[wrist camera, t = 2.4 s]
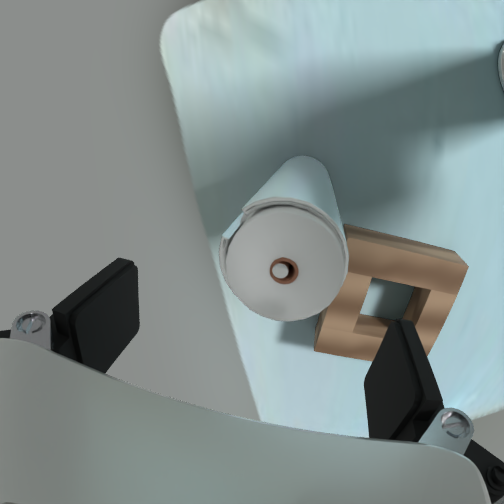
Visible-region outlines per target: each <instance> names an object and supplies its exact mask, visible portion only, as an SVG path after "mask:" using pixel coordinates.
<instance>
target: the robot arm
mask: <svg viewBox="0 0 504 504" xmlns="http://www.w3.org/2000/svg"><path fill="white" fill-rule="evenodd" d="M498 70H499V77H500V81H501V84H502V87H503V90H504V44H503V45H502V47H501V50H500V52H499V57H498ZM52 311H53V315H51V316H50V317H49V316H48V315H47V314H46V313H44V312H41V311H27V312H25V313H22V314H20V315H19V316H17V317H16V318H15V320H14V321H13V323H12V327H11V330H5V331H0V504H504V463H503V462H502V461H501V460H500V459H498V458H497V457H495V456H494V455H493V454H491V453H490V452H488V451H487V450H486V449H484V448H483V447H482V446H480V445H479V444H477V443H476V442H475V441H473V440H472V439H471V438H472V436H473V433H474V426H473V423H472V421H471V419H470V418H469V417H468V416H467V415H466V414H465V413H464V412H462V411H460V410H458V409H455V408H444V405H443V402H442V401H443V399H442V396H441V394H440V391H439V388H438V385H437V382H436V379H435V377H434V374H433V371H432V368H431V366H430V363H429V361H428V358H427V355H426V353H425V350H424V348H423V345H422V343H421V340H420V338H419V335H418V333H417V331H416V328H415V326H414V323H413V322H412V321H410V320H404V319H396V320H395V322H391V323H390V324H389V326H388V329H387V331H386V333H385V336H384V338H383V340H382V343H381V345H380V347H379V349H378V351H377V354H376V356H375V358H374V360H373V362H372V364H371V366H370V368H369V370H368V372H367V374H366V377H365V380H364V390H365V399H366V408H367V418H368V429H369V438H364V437H354V436H346V435H338V434H330V433H323V432H316V431H309V430H303V429H297V428H292V427H286V426H281V425H276V424H271V423H266V422H261V421H256V420H252V419H248V418H243V417H239V416H235V415H231V414H226V413H223V412H219V411H215V410H212V409H208V408H204V407H201V406H197V405H194V404H190V403H187V402H183V401H181V400H177V399H174V398H171V397H168V396H165V395H161V394H159V393H156V392H153V391H150V390H147V389H144V388H141V387H138V386H136V385H133V384H130V383H128V382H125V381H122V380H120V379H117V378H115V377H112V376H110V375H107V374H105V373H106V372H107V370H108V369H109V368H110V366H111V365H112V364H113V363H114V361H115V360H116V359H117V358H118V356H119V355H120V354H121V352H122V351H123V350H124V349H125V348H126V346H127V345H128V344H129V343H130V341H131V340H132V339H133V338H134V336H135V335H136V334H137V332H138V330H139V324H140V322H139V300H138V268H137V266H135V265H134V262H133V261H130V260H126V259H122V258H117V259H116V260H115V261H114V262H112V263H111V264H109V265H108V266H107V267H105V268H104V269H103V270H101V271H100V272H99V273H97V274H96V275H95V276H94V277H92V278H91V279H89V280H88V281H87V282H85V283H84V284H83V285H82V286H80V287H79V288H78V289H77V290H75V291H74V292H73V293H71V294H70V295H69V296H68V297H66V298H65V299H64V300H63V301H61V302H60V303H59V304H58V305H56V306H55V307H54V308H53V309H52Z"/></svg>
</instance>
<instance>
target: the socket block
mask: <svg viewBox="0 0 504 504" xmlns="http://www.w3.org/2000/svg"><path fill="white" fill-rule="evenodd" d="M343 230H344V234H345V238H346V243H347V248H348V253H349V263H348V273H347V275H346V278H345V280H344V283H343V285H342V287H341V288H340V290H339V292H338V294H337V296H336V297H335V298H334V300H333V301H332V302H331V304H330V305H329V306H327V307H326V308H325V309H323V310H322V311H321V312H320V315H319V318H318V322H317V325H316V328H315V341H314V351H316V352H322V353H327V354H332V355H338V356H343V357H349V358H355V359H361V360H367V361H373V360H374V358H375V356H376V354H377V351H378V349H379V347H380V345H381V343H382V340H383V338H384V336H385V333H386V331H387V329H388V326H389V324H390V323H391V322H395V320H389V319H384V318H379V317H373V316H368V315H363V314H359V313H360V311H361V308H362V305H363V302H364V299H365V297H366V294H367V291H368V288H369V285H370V282H371V279H372V277H374V278H379V279H383V280H388V281H393V282H397V283H402V284H407V285H411V286H415V288H414V291H413V294H412V296H411V299H410V301H409V304H408V306H407V308H406V311H405V313H404V315H403V318H402V319H404V320H410V321H412V322H413V323H414V326H415V328H416V331H417V333H418V335H419V338H420V340H421V343H422V345H423V348H424V350H425V353H426V355H427V356H428V354H429V352H430V350H431V348H432V347H433V345H434V343H435V341H436V339H437V337H438V335H439V333H440V331H441V329H442V327H443V325H444V323H445V321H446V319H447V316H448V314H449V312H450V310H451V308H452V306H453V303H454V301H455V299H456V297H457V294H458V292H459V289H460V287H461V285H462V282H463V280H464V277H465V275H466V272H467V270H468V267H469V266H468V265H467V264H466V263H465V262H464V261H463V260H462V259H461V258H460V256H459V255H458V254H457V253H456V252H455V251H452V250H448V249H445V248H441V247H437V246H433V245H429V244H425V243H422V242H418V241H414V240H410V239H406V238H402V237H398V236H394V235H390V234H385V233H381V232H377V231H373V230H369V229H364V228H360V227H356V226H351V225H347V224H344V228H343Z"/></svg>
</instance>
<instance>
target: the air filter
mask: <svg viewBox="0 0 504 504" xmlns="http://www.w3.org/2000/svg"><path fill="white" fill-rule="evenodd" d="M241 210H242V211H243V212H242V213H241V214H240V215H239V216H238V217H237V218H236V220H235V221H234V222H233V223H232V224H231V225H230V227H229V228H228V229H227V230H226V231H225V232H224V233H223V235H222V238H221V243H220V248H219V259H220V268H221V271H222V273H223V276H224V279H225V281H226V283H227V284H228V286H229V287H230V289H231V290H232V292H233V293H234V294H235V295H236V296H237V297H238V298H239V300H240V301H241V302H243V303H244V304H245V305H246V306H247V307H248V308H249V309H250V310H252V311H253V312H255V313H257V314H259V315H261V316H263V317H266V318H269V319H273V320H276V321H296V320H302V319H306V318H309V317H311V316H313V315H316V314H318V313H319V312H321V311H322V310H323V309H325V308H326V307H327V306H329V305H330V304H331V302H332V301H333V300H334V298H335V297H336V296H337V294H338V292H339V290H340V288H341V287H342V285H343V283H344V280H345V278H346V275H347V273H348V263H349V253H348V248H347V243H346V238H345V234H344V230H343V225H342V221H341V217H340V214H339V210H338V206H337V202H336V198H335V194H334V191H333V187H332V183H331V180H330V176H329V173H328V171H327V169H326V168H325V166H324V165H323V164H322V163H321V162H320V161H318V160H317V159H315V158H313V157H309V156H296V157H292V158H290V159H289V160H287V161H286V162H285V163H284V164H283V165H282V166H281V167H280V168H279V169H278V170H277V171H276V172H275V173H274V174H273V175H272V177H271V178H270V179H269V180H268V181H267V182H266V183H265V184H264V185H263V186H262V187H261V188H260V189H259V190H258V191H257V193H256V194H255V195H254V196H253V197H252V198H251V199H250V200H249V201H248V202H247V203H246V204H245V205H244V207H243V208H242V209H241Z"/></svg>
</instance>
